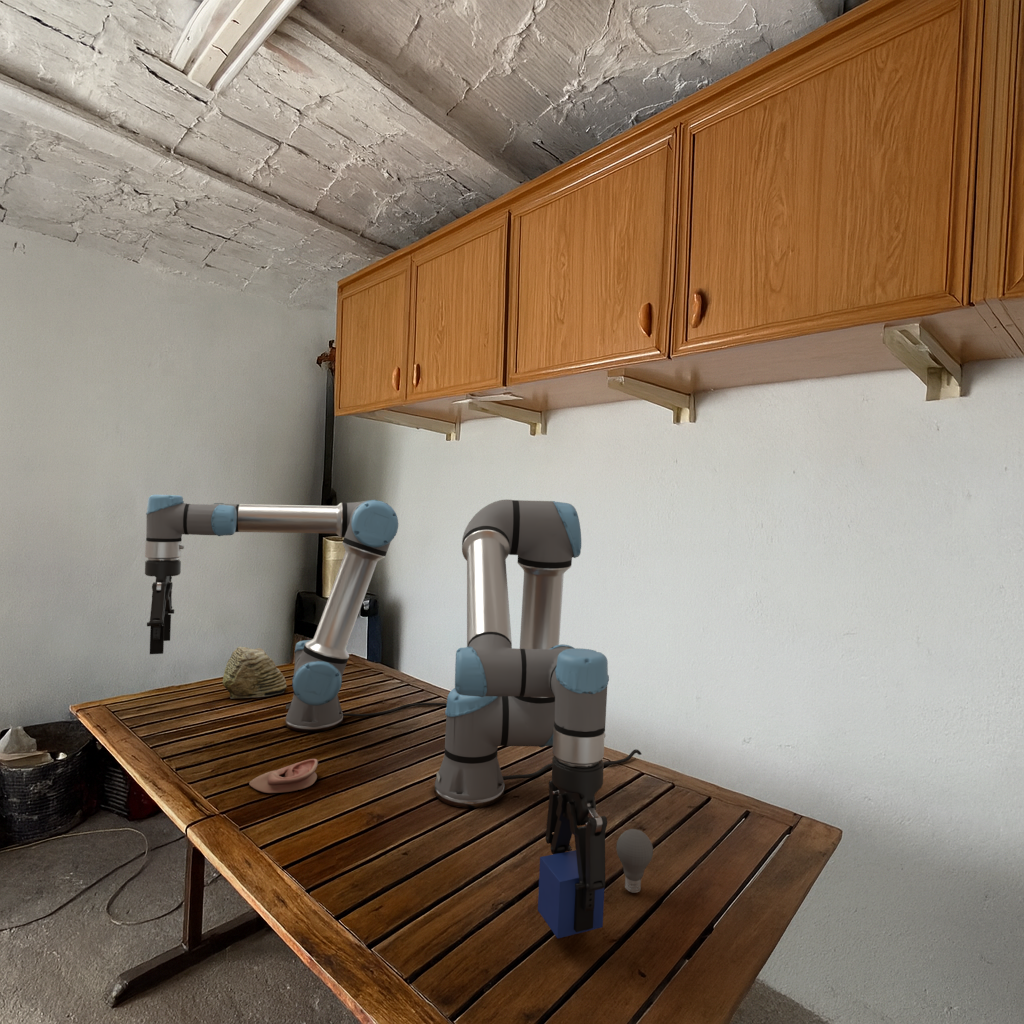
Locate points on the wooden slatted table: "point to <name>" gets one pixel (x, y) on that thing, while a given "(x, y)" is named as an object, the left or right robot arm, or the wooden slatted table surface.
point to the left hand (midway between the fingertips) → (160, 647)
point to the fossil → (252, 674)
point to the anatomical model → (287, 778)
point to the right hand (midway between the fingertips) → (571, 912)
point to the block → (563, 894)
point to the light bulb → (634, 857)
